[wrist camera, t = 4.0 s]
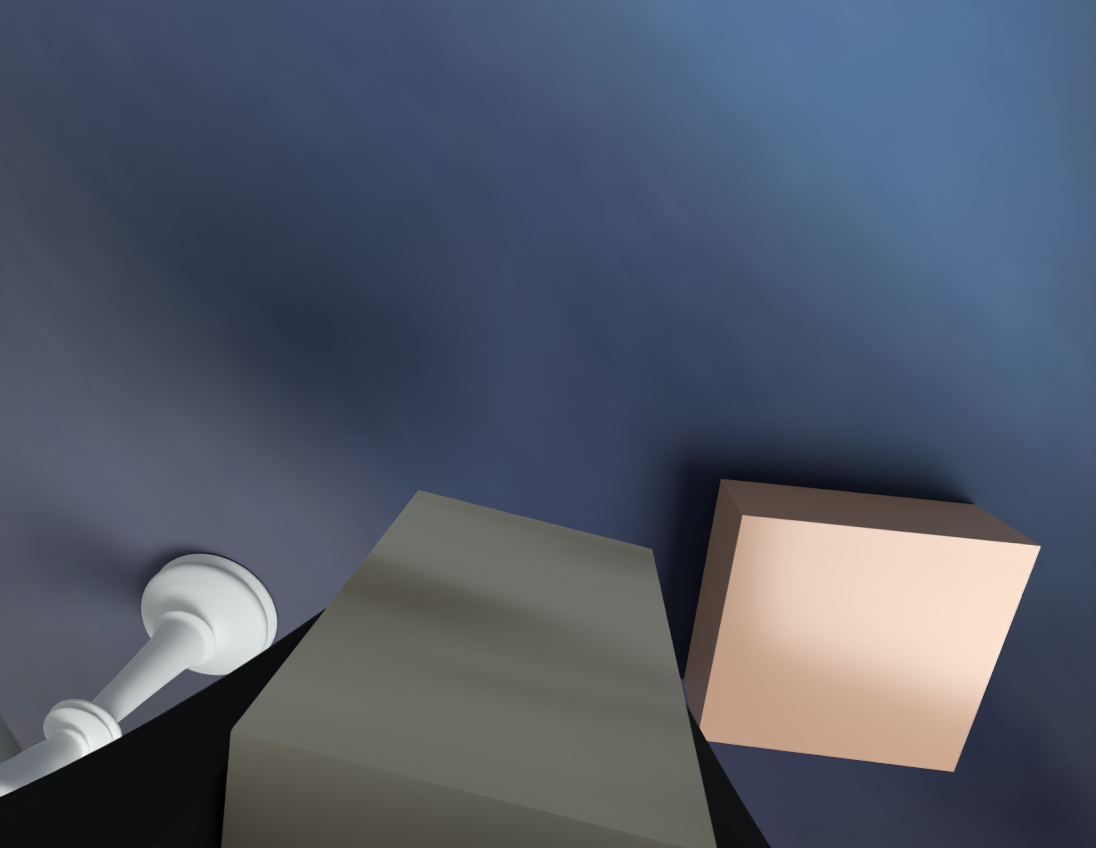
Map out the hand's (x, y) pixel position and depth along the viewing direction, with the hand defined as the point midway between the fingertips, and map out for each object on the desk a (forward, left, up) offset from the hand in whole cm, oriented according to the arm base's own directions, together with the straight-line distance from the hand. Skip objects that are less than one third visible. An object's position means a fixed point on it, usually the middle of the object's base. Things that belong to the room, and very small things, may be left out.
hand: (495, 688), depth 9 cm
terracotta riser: (-2, -10, -10) cm, 14 cm away
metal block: (0, 0, -2) cm, 2 cm away
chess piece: (-9, +11, -10) cm, 17 cm away
